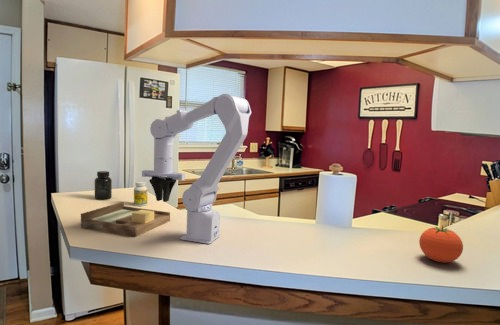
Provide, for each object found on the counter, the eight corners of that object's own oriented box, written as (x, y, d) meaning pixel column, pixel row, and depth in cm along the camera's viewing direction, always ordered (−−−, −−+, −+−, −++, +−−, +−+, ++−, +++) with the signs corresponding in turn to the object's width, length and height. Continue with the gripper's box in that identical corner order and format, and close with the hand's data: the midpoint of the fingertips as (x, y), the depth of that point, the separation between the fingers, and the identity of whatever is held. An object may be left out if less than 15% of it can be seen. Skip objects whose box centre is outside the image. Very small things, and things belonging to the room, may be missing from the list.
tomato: (445, 254, 93) (448, 220, 92) (470, 269, 83) (474, 232, 82) (410, 253, 93) (413, 219, 92) (431, 268, 82) (435, 230, 81)
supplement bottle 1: (98, 196, 145) (98, 170, 144) (113, 197, 146) (113, 171, 145) (91, 200, 139) (91, 172, 137) (108, 200, 139) (108, 173, 138)
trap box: (169, 220, 113) (170, 208, 113) (135, 237, 95) (135, 222, 95) (122, 213, 120) (122, 201, 119) (81, 227, 101) (80, 213, 101)
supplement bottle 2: (148, 203, 137) (148, 181, 136) (146, 206, 132) (146, 183, 131) (135, 203, 136) (135, 181, 135) (132, 206, 131) (132, 183, 130)
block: (154, 219, 107) (154, 211, 107) (144, 223, 102) (145, 214, 102) (141, 217, 109) (141, 209, 108) (131, 221, 104) (131, 213, 104)
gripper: (190, 159, 103) (189, 200, 104) (151, 156, 107) (150, 196, 109) (178, 160, 96) (177, 205, 97) (137, 157, 100) (137, 200, 102)
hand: (162, 200), depth 103 cm, fingers closed
